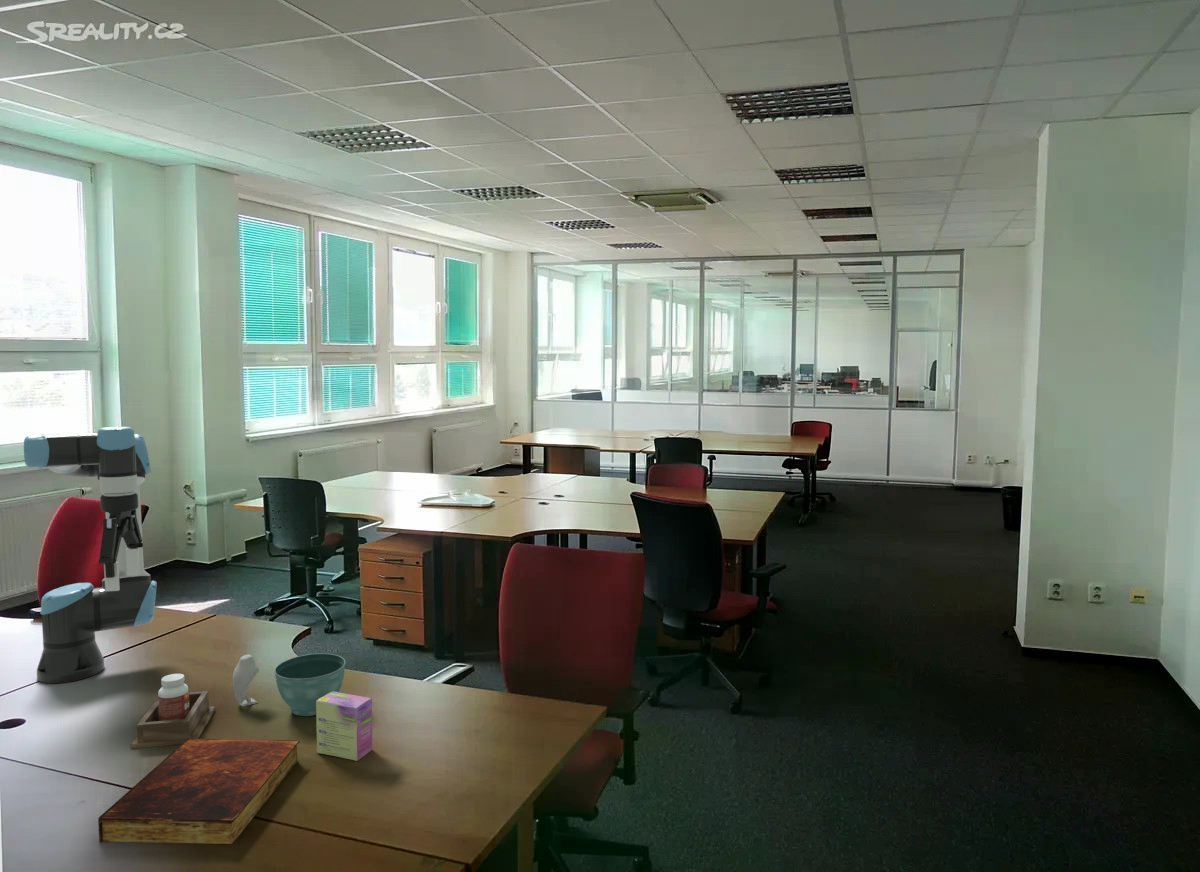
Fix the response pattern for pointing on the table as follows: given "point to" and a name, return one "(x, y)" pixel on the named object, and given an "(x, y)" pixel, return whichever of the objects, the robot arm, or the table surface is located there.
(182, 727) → the wooden tray
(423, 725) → the table surface
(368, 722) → the box
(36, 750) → the table surface
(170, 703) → the pill bottle
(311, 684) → the teal bowl
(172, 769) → the book
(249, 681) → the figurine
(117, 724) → the table surface
